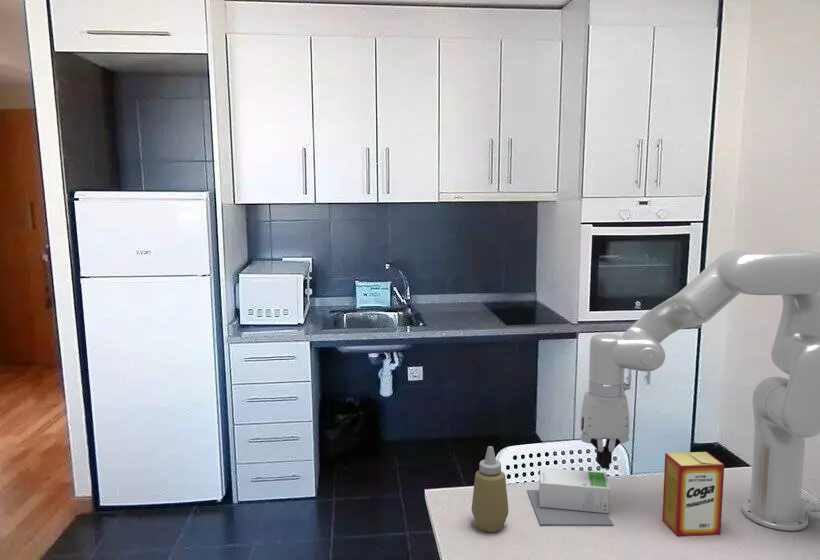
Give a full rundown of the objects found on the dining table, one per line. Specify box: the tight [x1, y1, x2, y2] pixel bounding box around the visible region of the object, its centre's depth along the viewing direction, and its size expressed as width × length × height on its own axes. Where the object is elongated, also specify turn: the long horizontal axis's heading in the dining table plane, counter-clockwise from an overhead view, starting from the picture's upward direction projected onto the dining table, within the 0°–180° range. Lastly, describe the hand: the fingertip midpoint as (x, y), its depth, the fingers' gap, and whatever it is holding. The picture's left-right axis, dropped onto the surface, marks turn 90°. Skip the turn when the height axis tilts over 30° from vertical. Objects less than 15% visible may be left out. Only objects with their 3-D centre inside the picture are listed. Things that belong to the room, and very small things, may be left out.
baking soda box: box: [661, 451, 725, 538], centre depth 128 cm, size 10×6×16 cm
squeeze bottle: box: [471, 445, 509, 533], centre depth 129 cm, size 8×8×18 cm
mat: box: [526, 489, 615, 527], centre depth 138 cm, size 16×16×1 cm
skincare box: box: [538, 466, 611, 514], centre depth 139 cm, size 8×7×16 cm
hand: (603, 466), depth 137 cm, fingers closed
